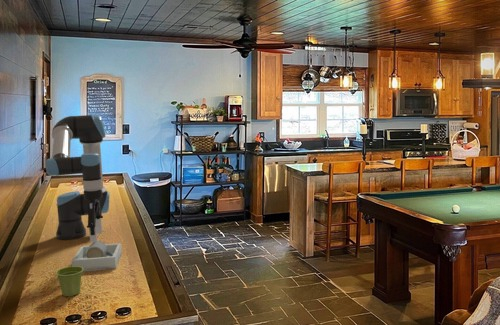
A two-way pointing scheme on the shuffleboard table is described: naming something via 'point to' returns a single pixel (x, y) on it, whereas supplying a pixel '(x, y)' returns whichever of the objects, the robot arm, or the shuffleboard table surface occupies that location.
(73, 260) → the bin
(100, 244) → the ceramic mug
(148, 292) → the shuffleboard table surface
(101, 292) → the shuffleboard table surface
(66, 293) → the plant pot
